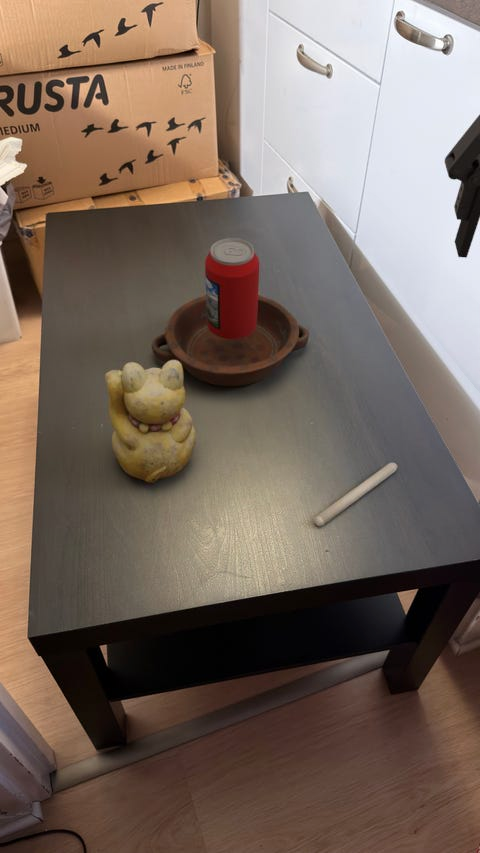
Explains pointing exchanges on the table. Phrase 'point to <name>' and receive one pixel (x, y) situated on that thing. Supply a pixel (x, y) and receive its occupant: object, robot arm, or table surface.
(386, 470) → the wooden stick
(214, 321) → the beverage can
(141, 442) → the decorative figurine
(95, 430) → the table surface
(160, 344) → the dish
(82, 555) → the table surface
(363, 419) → the table surface
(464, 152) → the robot arm
